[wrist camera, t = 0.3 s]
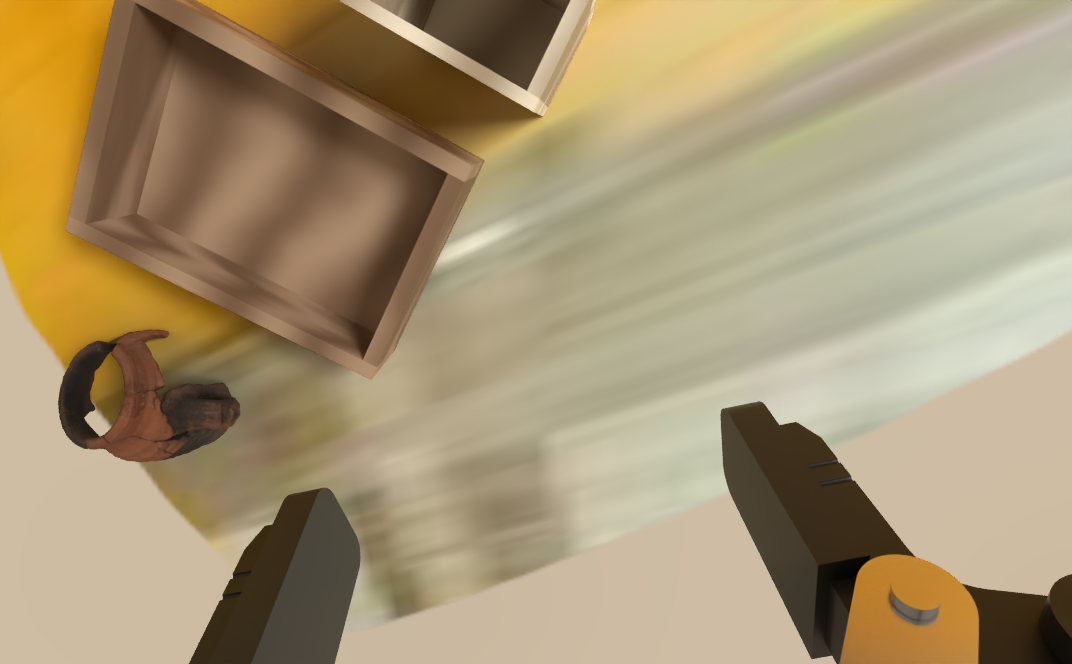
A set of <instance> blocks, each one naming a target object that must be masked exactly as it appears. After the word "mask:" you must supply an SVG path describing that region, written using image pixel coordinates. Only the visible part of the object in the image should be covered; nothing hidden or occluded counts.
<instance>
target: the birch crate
mask: <svg viewBox="0 0 1072 664" xmlns="http://www.w3.org/2000/svg"><path fill="white" fill-rule="evenodd" d="M340 1H341V2H342V3H344V4H346V5H348V6H349V7H351V8H353V9H355V10H356V11H358V12H360V13H362V14H363V15H365V16H367V17H369V18H370V19H372V20H374V21H376V22H377V23H379V24H381V25H383V26H384V27H386V28H388V29H390V30H391V31H393V32H395V33H397V34H398V35H400V36H402V37H403V38H405V39H407V40H409V41H410V42H412V43H414V44H416V45H417V46H419V47H421V48H423V49H424V50H426V51H428V52H430V53H431V54H433V55H435V56H437V57H438V58H440V59H442V60H444V61H445V62H447V63H449V64H451V65H452V66H454V67H456V68H458V69H459V70H461V71H463V72H465V73H466V74H468V75H470V76H471V77H473V78H475V79H477V80H478V81H480V82H482V83H484V84H485V85H487V86H489V87H491V88H492V89H494V90H496V91H498V92H499V93H501V94H503V95H505V96H506V97H508V98H510V99H512V100H513V101H515V102H517V103H519V104H520V105H522V106H524V107H526V108H527V109H529V110H531V111H533V112H535V113H537V114H539V115H541V116H544V114H545V112H546V110H547V108H548V106H549V104H550V102H551V100H552V98H553V96H554V94H555V92H556V90H557V88H558V86H559V84H560V82H561V80H562V78H563V76H564V74H565V72H566V70H567V68H568V66H569V64H570V62H571V60H572V58H573V56H574V54H575V52H576V50H577V48H578V46H579V44H580V42H581V40H582V38H583V36H584V34H585V32H586V30H587V28H588V26H589V24H590V22H591V20H592V17H593V12H594V8H595V3H596V0H340Z"/></svg>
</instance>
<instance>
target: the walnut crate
mask: <svg viewBox="0 0 1072 664" xmlns="http://www.w3.org/2000/svg"><path fill="white" fill-rule="evenodd" d="M483 163H484V160H482V159H481V158H479V157H477V156H475V155H473V154H472V153H470V152H468V151H466V150H464V149H463V148H461V147H459V146H457V145H455V144H454V143H452V142H450V141H448V140H446V139H445V138H443V137H441V136H439V135H437V134H436V133H434V132H432V131H430V130H428V129H427V128H425V127H423V126H421V125H419V124H418V123H416V122H414V121H412V120H410V119H409V118H407V117H405V116H403V115H401V114H400V113H398V112H396V111H394V110H392V109H391V108H389V107H387V106H385V105H383V104H382V103H380V102H378V101H376V100H374V99H373V98H371V97H369V96H367V95H365V94H364V93H362V92H360V91H358V90H356V89H354V88H353V87H351V86H349V85H347V84H345V83H344V82H342V81H340V80H338V79H336V78H335V77H333V76H331V75H329V74H327V73H326V72H324V71H322V70H320V69H318V68H317V67H315V66H313V65H311V64H309V63H308V62H306V61H304V60H302V59H300V58H299V57H297V56H295V55H293V54H291V53H290V52H288V51H286V50H284V49H282V48H281V47H279V46H277V45H275V44H273V43H272V42H270V41H268V40H266V39H264V38H263V37H261V36H259V35H257V34H255V33H254V32H252V31H250V30H248V29H246V28H245V27H243V26H241V25H239V24H237V23H236V22H234V21H232V20H230V19H228V18H227V17H225V16H223V15H221V14H219V13H217V12H216V11H214V10H212V9H210V8H208V7H207V6H205V5H203V4H201V3H199V2H198V1H196V0H115V1H114V5H113V10H112V15H111V19H110V24H109V29H108V33H107V38H106V43H105V47H104V52H103V57H102V61H101V66H100V71H99V76H98V80H97V85H96V90H95V94H94V99H93V104H92V108H91V113H90V118H89V122H88V127H87V132H86V136H85V141H84V146H83V151H82V155H81V160H80V165H79V169H78V174H77V179H76V183H75V188H74V193H73V197H72V202H71V207H70V211H69V216H68V221H67V226H66V230H65V231H67V232H69V233H71V234H73V235H75V236H77V237H79V238H81V239H83V240H86V241H88V242H90V243H92V244H94V245H96V246H98V247H100V248H102V249H104V250H106V251H108V252H110V253H112V254H114V255H116V256H118V257H120V258H122V259H124V260H127V261H129V262H131V263H133V264H135V265H137V266H139V267H141V268H143V269H145V270H147V271H149V272H151V273H153V274H155V275H157V276H159V277H161V278H163V279H165V280H168V281H170V282H172V283H174V284H176V285H178V286H180V287H182V288H184V289H186V290H188V291H190V292H192V293H194V294H196V295H198V296H200V297H202V298H204V299H207V300H209V301H211V302H213V303H215V304H217V305H219V306H221V307H223V308H225V309H227V310H229V311H231V312H233V313H235V314H237V315H239V316H241V317H243V318H245V319H248V320H250V321H252V322H254V323H256V324H258V325H260V326H262V327H264V328H266V329H268V330H270V331H272V332H274V333H276V334H278V335H280V336H282V337H284V338H286V339H289V340H291V341H293V342H295V343H297V344H299V345H301V346H303V347H305V348H307V349H309V350H311V351H313V352H315V353H317V354H319V355H321V356H323V357H325V358H327V359H330V360H332V361H334V362H336V363H338V364H340V365H342V366H344V367H346V368H348V369H350V370H352V371H354V372H356V373H358V374H360V375H362V376H364V377H366V378H369V379H371V380H372V378H373V377H374V376H375V374H376V373H377V372H378V371H379V369H380V368H381V367H382V365H383V364H384V363H385V362H386V360H387V359H388V358H389V356H390V355H391V354H392V353H393V351H394V350H395V348H396V346H397V343H398V341H399V339H400V337H401V335H402V333H403V331H404V329H405V327H406V325H407V322H408V320H409V318H410V316H411V314H412V312H413V310H414V308H415V306H416V304H417V301H418V299H419V297H420V295H421V293H422V291H423V289H424V287H425V285H426V283H427V280H428V278H429V276H430V274H431V272H432V270H433V268H434V266H435V264H436V262H437V260H438V257H439V255H440V253H441V251H442V249H443V247H444V245H445V243H446V241H447V239H448V236H449V234H450V232H451V230H452V228H453V226H454V224H455V222H456V220H457V218H458V215H459V213H460V211H461V209H462V207H463V205H464V203H465V201H466V199H467V197H468V194H469V192H470V190H471V188H472V186H473V184H474V182H475V180H476V178H477V176H478V173H479V171H480V169H481V167H482V165H483Z"/></svg>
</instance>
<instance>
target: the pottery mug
mask: <svg viewBox="0 0 1072 664" xmlns="http://www.w3.org/2000/svg"><path fill="white" fill-rule="evenodd" d="M168 335H169V332H167V331H164V330H144V331H136V332H130V333H127V334H125V335H123V336H121V337H118V338H116V339H114V340H112V341H110V342H109V343H107V342H102V341H96V342H93V343H91V344H89V345H87V346H86V347H85V348H83V349H82V350H80V352H78V353H77V355H76V356H75V357H74V358H73V360H72V362H71V363H70V366H69V368H68V369H67V371H66V373H65V375H64V376H63V381H62V384H61V387H60V393H59V401H58V405H59V414H60V420H61V424H62V427H63V429H64V431H65V433H66V435H67V436H68V437H69V438H70V440H71V441H72V442H74V443H75V444H76V445H78V446H80V447H82V448H84V449H88V448H89V449H106V450H107V451H108V452H109V453H111V454H113V455H114V456H115V457H118V458H121V459H123V460H126V461H136V462H148V461H159V460H165V459H169V458H174V457H176V456H180V455H182V454H186V453H189V452H191V451H193V450H195V449H197V448H199V447H201V446H203V445H206V444H209V443H211V442H214V441H215V440H217V439H218V438H219V437H220V436H222V435H223V434H224V433H225V432H226V430H227V429H228V427H230V426H232V425H233V424H234V423H235V422H236V420H237V419H238V417H239V416H240V404H239V402H238V401H237V400H236V399H235V398H234V397H232V396H231V395H230V392H229V390H228V388H227V386H226V385H225V384H224V383H220V384H212V385H207V386H204V385H200V384H198V385H192V384H184V385H181V386H179V387H177V388H174V389H171V390H169V391H168V392H166V394H165V395H164V397H163V400H162V401H161V400H160V399H159V398H158V395H157V392H156V390H158V389H160V388H163V387H164V386H165V381H164V379H163V377H162V375H161V373H160V370H159V367H158V364H157V362H156V361H155V360H154V358H153V357H152V354H151V352H150V350H149V348H148V347H147V345H146V344H145V343H144V342H146V341H148V340H151V339H156V338H166V337H168ZM109 352H112V353H111V354H112V356H113V357H114V358H115V359H116V360H117V362H118V363H119V365H120V366H121V368H122V372H123V376H124V386H125V399H124V402H123V406H122V409H121V411H120V414H119V416H118V418H117V420H116V422H115V423H114V425H113V426H112V428H111V429H110V430H109V431H108V432H107V433H106V434H105V435H103V436H98V434H97V433H96V432H95V431H94V430H93V429H92V428H91V427H90V426H89V425H88V424H87V422H86V421H85V419H84V417H85V416H86V415H87V414H88V413H89V412H91V411H94V410H95V406H94V405H93V404H92V402H91V400H90V390H91V387H92V383H93V381H94V372H95V370H97V369H98V368H99V367H100V365H101V364H102V362H103V361H104V359H105V358H106V356H107V355H108V353H109ZM183 430H186V431H187V432H186V433H182V434H179V435H176V436H173V435H175V432H180V431H183Z"/></svg>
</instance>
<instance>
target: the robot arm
mask: <svg viewBox="0 0 1072 664" xmlns="http://www.w3.org/2000/svg"><path fill="white" fill-rule="evenodd" d="M721 433H722V452H723V467H724V473H725V478H726V482H727V485H728V488H729V491H730V494H731V496H732V498H733V500H734V502H735V504H736V507H737V509H738V510H739V512H740V515H741V517H742V519H743V521H744V523H745V525H746V527H747V529H748V531H749V533H750V535H751V537H752V539H753V541H754V543H755V545H756V547H757V549H758V551H759V553H760V555H761V557H762V559H763V561H764V563H765V565H766V567H767V570H768V571H769V574H770V575H771V577H772V580H773V582H774V584H775V586H776V588H777V590H778V592H779V594H780V596H781V598H782V600H783V602H784V604H785V606H786V608H787V610H788V612H789V614H790V616H791V618H792V620H793V622H794V624H795V626H796V628H797V630H798V632H799V634H800V637H801V639H802V640H803V643H804V645H805V647H806V649H807V651H808V653H809V655H810V657H811V659H815V658H820V657H826V656H833V658H834V660H835V661H836V663H837V664H1072V574H1071V575H1067V576H1065V577H1063V578H1061V579H1059V580H1058V581H1057V582H1055V583H1054V585H1053V587H1052V588H1051V590H1050V593H1049V595H1048V596H1043V595H1034V594H1024V593H1015V592H1006V591H996V590H988V589H982V588H976V587H972V586H968V585H964V584H962V583H960V582H959V581H958V580H957V579H956V578H955V577H953V576H952V575H951V574H950V573H948V572H947V571H945V570H943V569H942V568H940V567H938V566H937V565H934V564H932V563H930V562H928V561H925V560H922V559H920V558H916V557H915V556H914V555H913V554H912V553H911V552H910V551H909V549H908V548H907V547H906V546H905V545H904V543H903V542H902V541H901V539H900V538H899V537H898V536H897V534H896V533H895V532H894V531H893V529H892V528H891V527H890V525H889V524H888V523H887V521H886V520H885V519H884V518H883V516H882V515H881V514H880V512H879V511H878V510H877V509H876V507H875V506H874V505H873V504H872V502H871V501H870V500H869V498H868V497H867V496H866V495H865V493H864V492H863V491H862V490H861V488H860V487H859V486H858V484H857V483H856V482H855V481H853V480H852V479H851V476H850V474H849V473H848V471H847V470H846V469H845V468H844V467H843V465H842V464H841V463H839V462H838V460H837V458H836V456H835V455H834V454H833V452H832V451H831V450H830V448H829V447H828V446H827V445H826V443H825V442H824V441H823V439H822V438H821V437H819V436H818V435H816V434H814V433H813V432H811V431H810V430H808V429H807V428H805V427H803V426H802V425H800V424H799V423H797V422H794V423H789V424H784V425H779V424H778V423H777V421H776V420H775V418H774V417H773V416H772V414H771V413H770V411H769V410H768V408H767V407H766V406H765V404H763V403H762V402H754V403H749V404H745V405H740V406H735V407H730V408H725V409H722V410H721ZM359 567H360V547H359V542H358V539H357V536H356V534H355V532H354V531H353V529H352V527H351V525H350V523H349V521H348V520H347V518H346V516H345V514H344V512H343V510H342V509H341V507H340V505H339V503H338V501H337V499H336V498H335V496H334V494H333V492H332V491H331V490H330V489H328V488H320V489H315V490H310V491H305V492H300V493H295V494H291V495H288V496H287V497H286V498H285V499H284V501H283V503H282V505H281V507H280V510H279V512H278V514H277V516H276V518H275V521H274V523H273V525H268V526H265V527H264V528H263V529H262V530H261V531H260V532H259V534H258V535H257V536H256V537H255V538H254V539H253V541H252V542H251V543H250V544H249V545H248V546H247V547H246V549H245V550H244V552H243V554H242V556H241V558H240V560H239V562H238V564H237V566H236V568H235V570H234V572H233V579H230V581H229V583H228V585H227V587H226V589H225V591H224V593H223V600H221V601H219V603H218V605H217V607H216V610H215V611H214V613H213V616H212V618H211V620H210V622H209V624H208V626H207V628H206V630H205V632H204V634H203V636H202V638H201V640H200V642H199V644H198V646H197V648H196V650H195V653H194V654H193V656H192V658H191V661H190V663H189V664H334V663H335V659H336V656H337V652H338V648H339V644H340V641H341V637H342V633H343V629H344V625H345V621H346V617H347V614H348V610H349V606H350V602H351V598H352V594H353V591H354V587H355V583H356V579H357V575H358V571H359Z"/></svg>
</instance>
